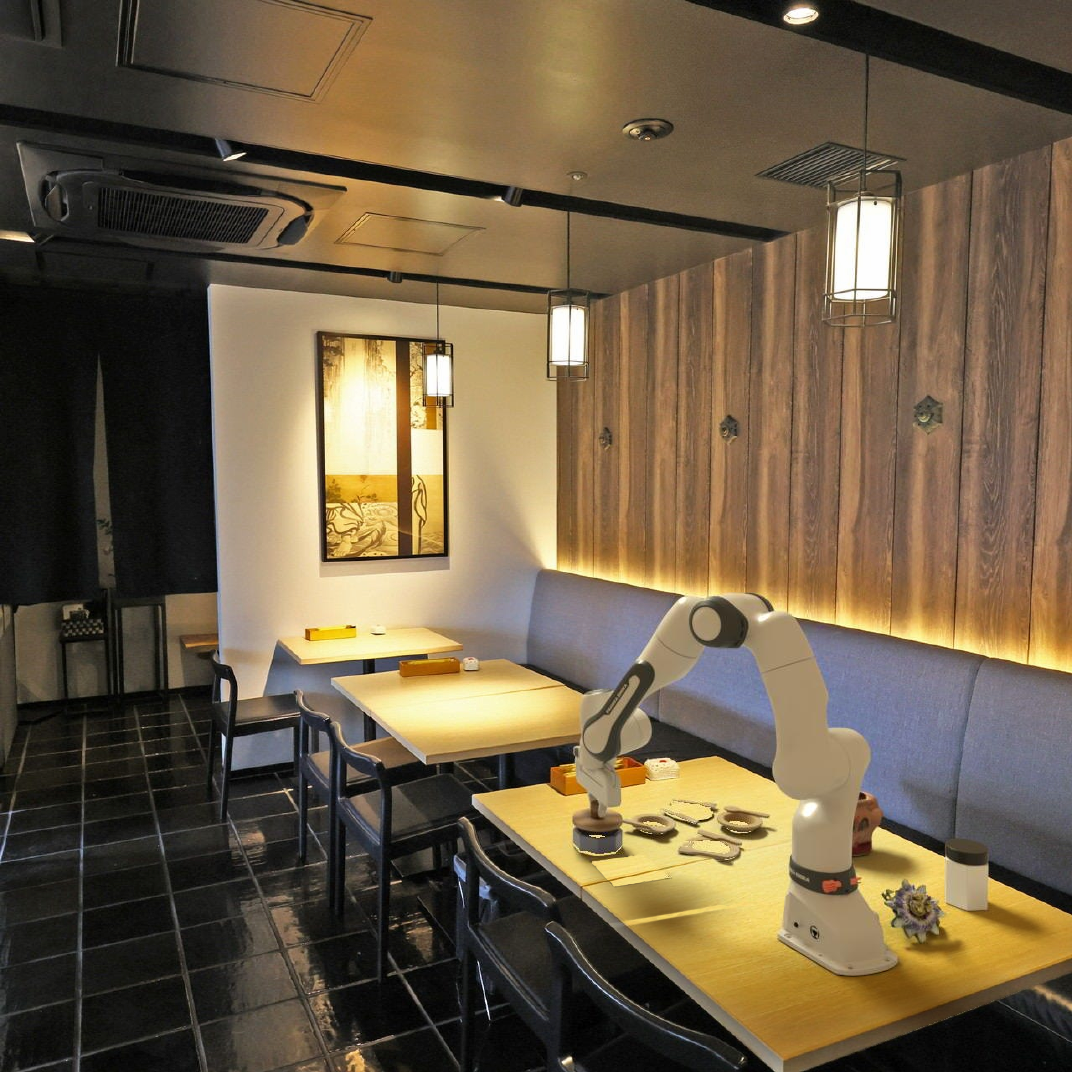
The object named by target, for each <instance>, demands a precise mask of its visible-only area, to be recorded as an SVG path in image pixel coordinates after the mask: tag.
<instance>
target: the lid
mask: <svg viewBox="0 0 1072 1072" xmlns="http://www.w3.org/2000/svg"><path fill="white" fill-rule="evenodd" d="M597 808H599V803H598V799H597V800H593V801H591V809H590V807H589V808H582V809H580V810H578V811H576V812H574V813H573V814H572V818H571V819H572V825H574V827H578V828H580V829H583V830H587V831H594V832H604V831H611V830H615V829H617V828H619V827H620V828H621V827H622V825H623V822H622V819H623V815H622V814H621V813H619V812H618V811H615V810H613V809H609V808H607V809H606V817H602V818H600V817H599V816H598V815H597Z"/></svg>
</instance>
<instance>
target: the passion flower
mask: <svg viewBox="0 0 1072 1072" xmlns="http://www.w3.org/2000/svg"><path fill="white" fill-rule="evenodd" d="M915 887H916V886H915V885H914V884H911V883H909V880H908V879H907V878H905V877H903V878H902V880H901V886H900V887H899V889H896V890H895V891H894V890H892V889H889V888H887V889H885V893H884V891H883V892H882V893H881V894H880V895H881V897H882V898H883V899H884V900H885V901H884V902H883V905H884V906H887V907H888V908H890V909H891V911H892V913H893V914H894V917H893V918H892V919H891V921H890V926H891V928H895V929H897V928H900V927H902V929H903V933H904V935H905V936H906V937H907V939H908V940H909V939H911V938H912V937H915V939H916V940H917V941H918V942H919V943H920V944H923V943H924V942H925V941H926V937H927V932H928V931H929V932H931V934H934V935H936V936H938V935H940V931H939V930H940V929H939V928H940V923H941V921H940V919H939V918H944V917H946V914H947V912H946V911H945V910H942V909H941V907H940V906H939V903H940V899H938V898H937V897H932V896H931V895H928V894H927V884H921V885H919V886H918V887H917V889H916V888H915ZM893 893H895V894H894V896H893V897H892V896H891V895H890V894H893ZM887 897H888V898H887Z"/></svg>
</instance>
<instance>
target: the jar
mask: <svg viewBox="0 0 1072 1072" xmlns="http://www.w3.org/2000/svg"><path fill="white" fill-rule="evenodd" d="M944 843H945V845H944V852H945V853H944V854H945V865H944V866H945V867H944V869H945V870H944V901H945V904H948V905H951V906H952V907H953V906H954V907H956V908H958V909H960V910H963V911H966V912H970V911H971V912H972V911H973V912H974V911H988V902H989V901H988V898H989V859H990V858H989V855H990V854H989V852H990V851H989V848H988V847H987V845H985V844H984V843H982V842H979V841H976V840H971V839H967V838H950V839H947V840H946V841H945V842H944Z"/></svg>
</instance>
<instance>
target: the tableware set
mask: <svg viewBox="0 0 1072 1072" xmlns="http://www.w3.org/2000/svg"><path fill="white" fill-rule="evenodd" d="M675 799H676V798H672V799H671V801H672V800H673V801H678V802H684V803H690V804H700V805H702V806H705V807H711V809H716V807H717V805H718V804H717V803H713V802H697V801H691V800H686V799H680V798H678V799H679V800H675ZM659 810H663V811H665V812H668V813H669V814H671V815H676V816H678V817H680V818H682V819H685V820H688V821H690V822H693V823H694V824H695V823H699V821H698V820H696V819H694V818H691V817H689V816H686V815H684V814H681V813H679V814H678V813H674V812H672V811H670V810H667V809H664V807H662V808H660V809H659ZM723 810H724V811H723V812H720V813H719V814H718V815H716V821H717V823H719V824H720V825H721V826H723V827H726V828H728V829H729V830H733V831H737V832H749V831H752V830H753V831H754V830H755V829H759V828H760V827H762V826H763V818H764V819H769V818H770V816H771V815H770V814H769V813H763V812H760V811H759V812H758V811H753V810H747V809H742V808H740V807H737V806H734V805H725V806H723ZM647 821H649V822H657V823H660V824H662V825H665V826H666V827H663V826H657V825H655V826H653V825H648V824H644V823H643V822H647ZM730 821H740V822H745V823H747V824H748V825H738V824H733V823H729V822H730ZM676 823H677V822H676V821H675V819H674V818H671V817H669V816H668V815H667V816H666V815H663V814H656V813H641V814H637V815H634V816H632V817H631V818H630V819H629V818H622V824H626V825H630V826H632V827H633V828H635V829H637V830H638V829H639V830H642V831H644V832H648V833H652V834H661V833H665V832H667V831H668V832H670V831H672V830H674V829H675V828H676V826H677V824H676ZM694 824H693V825H694ZM726 828H725V829H726ZM639 830H638V831H639ZM668 832H667V833H668ZM665 834H666V833H665ZM697 834H698V835H701V836H693V837H694V838H693V837H690V838H691V839H690V838H688V839H686V840H685V841H689V842H687V843H684V842H683V843H684V844H683V843H682V845H680V846H679V847H678V849H677V852H678V853H681V854H686V855H693V856H696V857H700V858H704V859H710V860H711V859H713V860H714V861H716V860H723V861H726V860H725V859H730V858H733V857H735V856H737V855H738V856H739V854H740V847H741V846H743V842H742V841H741V840H738V839H734V838H732V837H728V836H723V835H721V834H717V833H715V832H712V831H708V830H704V829H698V830H697ZM695 837H696V838H695ZM703 840H710V841H720V842H722V843H724V844H725V845H726V846H729V848H730V851H729V852H728V853H725V854H723V853H715V852H707V851H703V850H701V849H699V850H698V849H695V848H694V847H693V844H694V842H693V841H703ZM690 841H691V843H690ZM692 842H693V843H692ZM685 846H688V847H685ZM739 846H740V847H739ZM738 856H737V857H738ZM735 858H736V857H735ZM733 859H734V858H733ZM730 860H731V859H730Z"/></svg>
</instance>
